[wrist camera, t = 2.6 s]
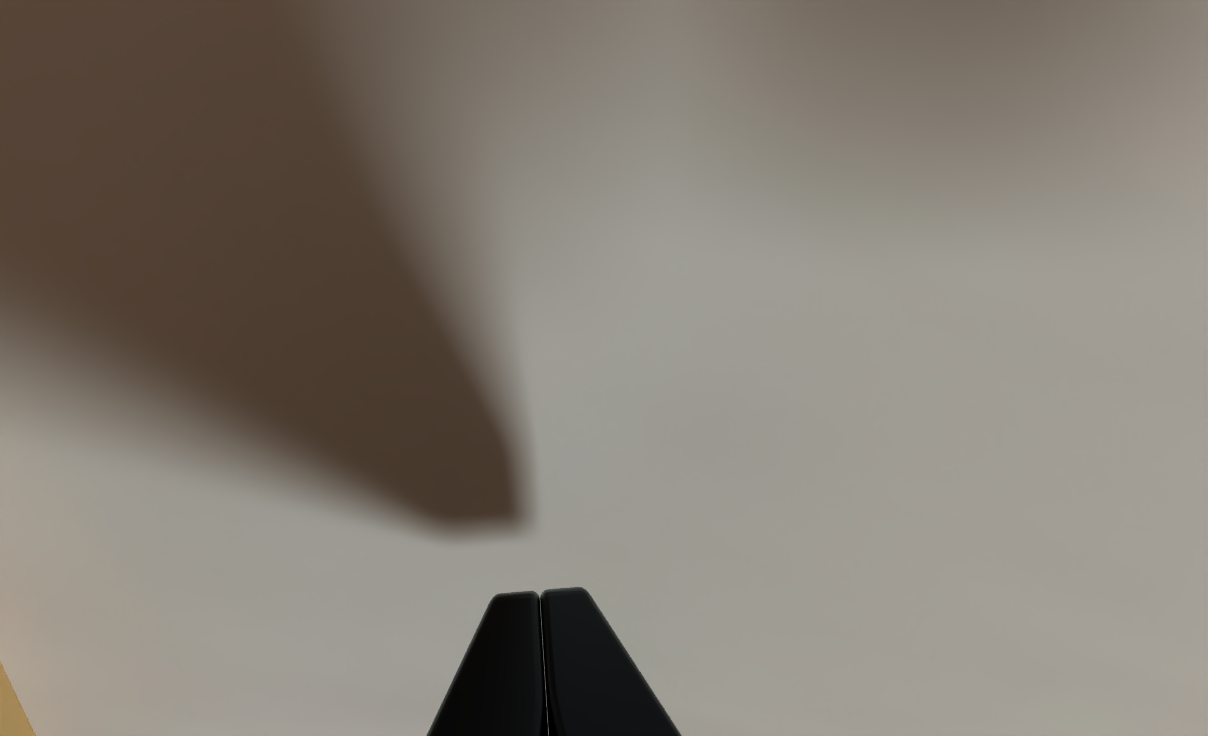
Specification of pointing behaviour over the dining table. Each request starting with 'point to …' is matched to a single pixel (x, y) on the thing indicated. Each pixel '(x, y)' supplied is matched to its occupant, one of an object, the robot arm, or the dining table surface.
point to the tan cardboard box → (11, 710)
